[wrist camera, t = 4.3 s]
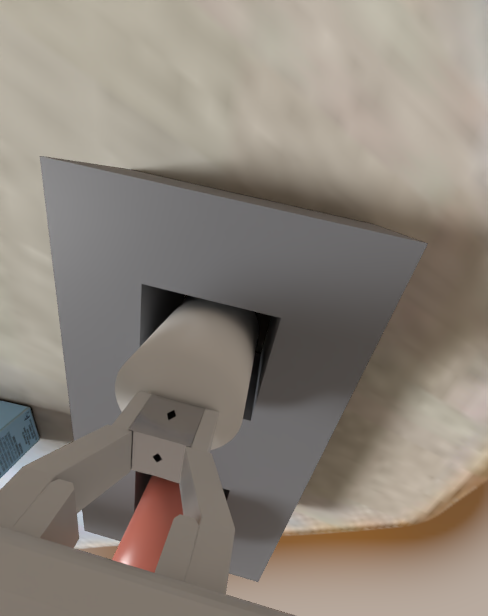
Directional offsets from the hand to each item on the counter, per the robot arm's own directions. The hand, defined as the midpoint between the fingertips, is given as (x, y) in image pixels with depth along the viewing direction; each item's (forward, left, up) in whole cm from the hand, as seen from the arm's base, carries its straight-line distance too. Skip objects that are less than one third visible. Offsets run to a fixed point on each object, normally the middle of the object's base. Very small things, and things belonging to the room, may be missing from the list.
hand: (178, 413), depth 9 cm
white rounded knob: (0, 0, -6) cm, 6 cm away
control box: (+6, 0, -9) cm, 11 cm away
